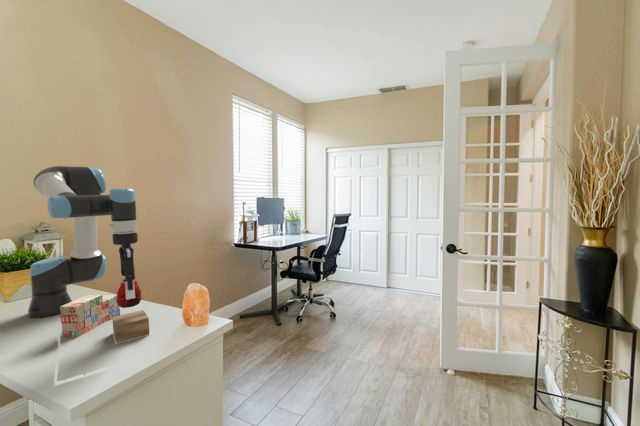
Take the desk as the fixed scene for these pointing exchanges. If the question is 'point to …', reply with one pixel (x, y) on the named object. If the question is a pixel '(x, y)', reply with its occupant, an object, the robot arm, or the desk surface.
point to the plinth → (130, 326)
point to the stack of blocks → (87, 314)
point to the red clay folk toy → (122, 296)
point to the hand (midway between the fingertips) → (129, 295)
